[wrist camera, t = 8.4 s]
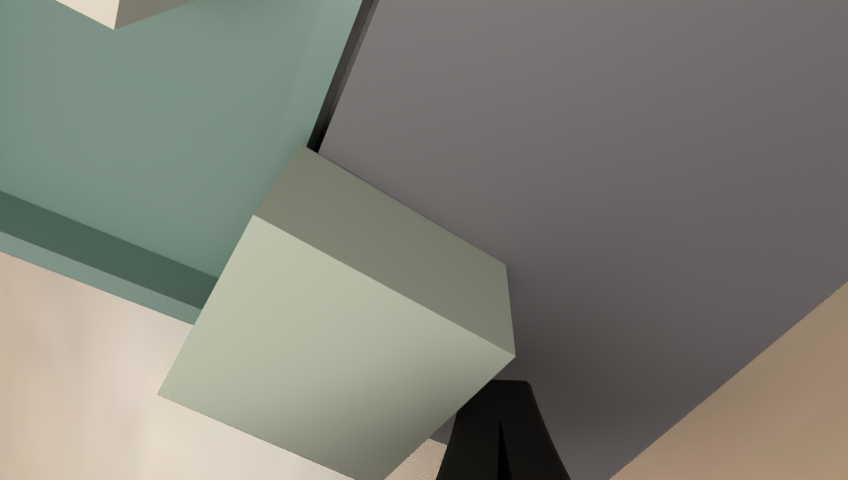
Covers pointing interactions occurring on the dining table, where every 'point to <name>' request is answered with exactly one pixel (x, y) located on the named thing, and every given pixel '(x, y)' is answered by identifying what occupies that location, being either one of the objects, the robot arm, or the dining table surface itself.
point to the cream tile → (122, 9)
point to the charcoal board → (617, 185)
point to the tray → (157, 134)
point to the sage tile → (344, 325)
